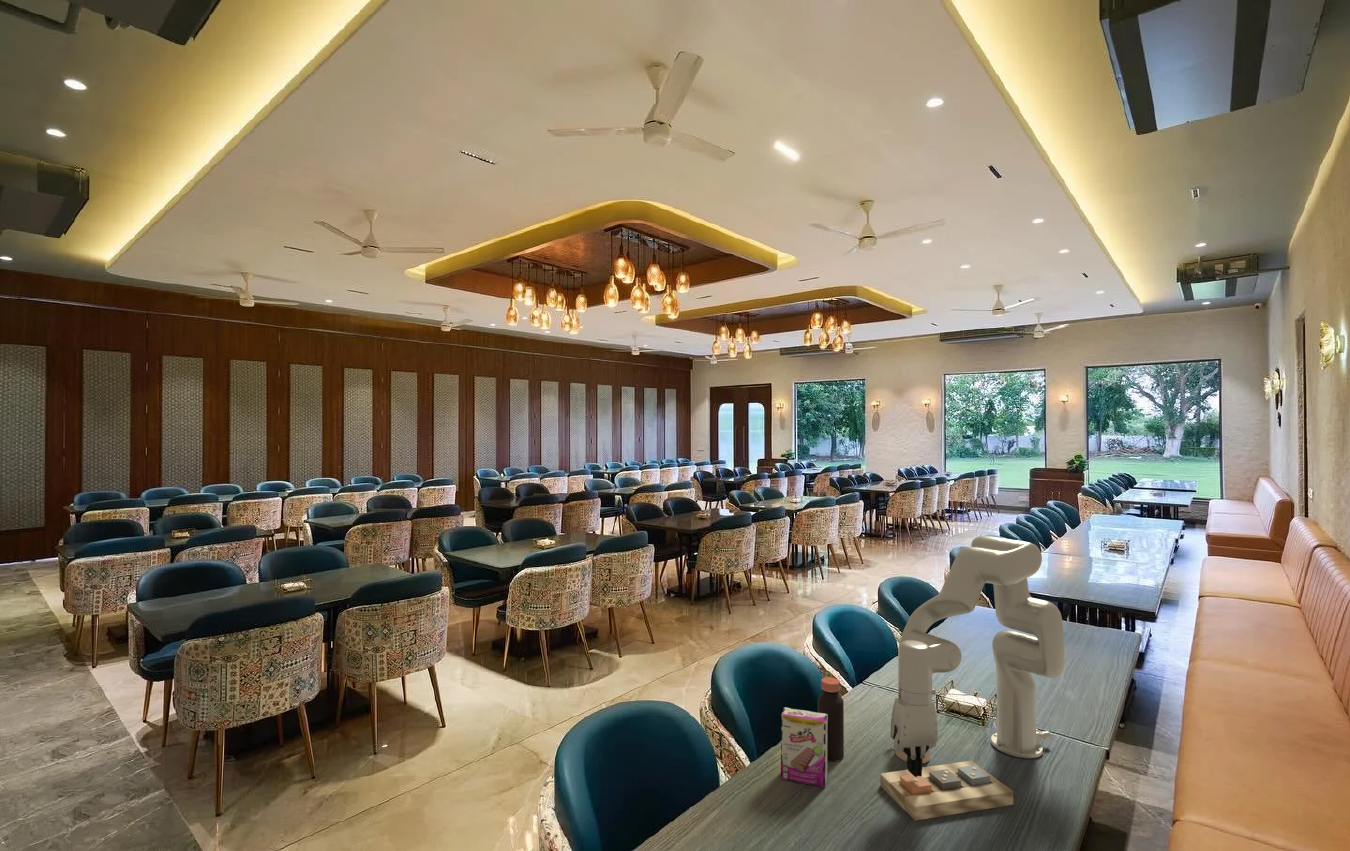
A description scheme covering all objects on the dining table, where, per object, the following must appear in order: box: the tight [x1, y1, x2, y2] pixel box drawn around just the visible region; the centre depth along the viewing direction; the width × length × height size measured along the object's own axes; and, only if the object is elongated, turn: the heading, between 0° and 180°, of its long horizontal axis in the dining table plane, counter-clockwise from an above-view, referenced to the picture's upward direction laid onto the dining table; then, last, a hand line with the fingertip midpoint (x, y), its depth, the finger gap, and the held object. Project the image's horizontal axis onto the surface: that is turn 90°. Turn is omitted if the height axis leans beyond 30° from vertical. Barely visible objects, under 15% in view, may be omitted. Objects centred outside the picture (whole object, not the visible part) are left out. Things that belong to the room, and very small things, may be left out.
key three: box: [929, 769, 961, 791], centre depth 147 cm, size 5×5×3 cm
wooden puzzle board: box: [879, 760, 1014, 822], centre depth 147 cm, size 26×14×3 cm, turn 103°
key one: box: [900, 774, 932, 796], centre depth 146 cm, size 5×5×3 cm
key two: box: [958, 765, 990, 786], centre depth 149 cm, size 5×5×3 cm
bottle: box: [817, 676, 845, 762], centre depth 166 cm, size 7×7×20 cm
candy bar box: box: [780, 707, 828, 788], centre depth 154 cm, size 11×5×16 cm, turn 71°
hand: (914, 773), depth 145 cm, fingers closed
